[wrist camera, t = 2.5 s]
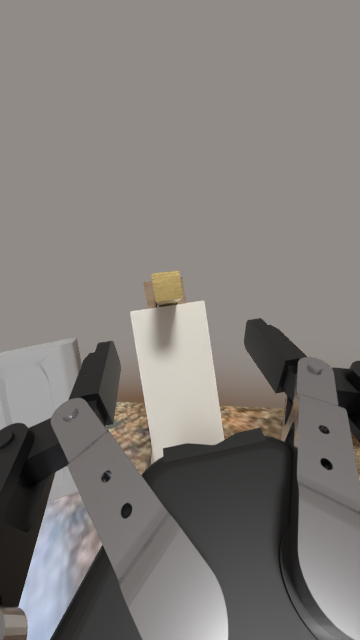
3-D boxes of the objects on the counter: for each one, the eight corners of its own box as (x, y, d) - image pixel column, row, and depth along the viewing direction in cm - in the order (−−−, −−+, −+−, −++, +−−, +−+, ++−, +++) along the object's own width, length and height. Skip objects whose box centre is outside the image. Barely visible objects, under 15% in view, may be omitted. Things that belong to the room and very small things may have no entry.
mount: (154, 436, 50) (131, 294, 48) (214, 424, 51) (194, 285, 49) (148, 518, 30) (108, 280, 28) (247, 495, 31) (215, 266, 29)
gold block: (159, 307, 45) (157, 295, 45) (172, 306, 45) (170, 293, 45) (155, 301, 21) (151, 274, 21) (183, 297, 21) (178, 270, 21)
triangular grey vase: (38, 537, 29) (2, 358, 28) (-6, 506, 36) (-37, 360, 35) (124, 449, 47) (105, 334, 45) (84, 439, 53) (66, 339, 52)
